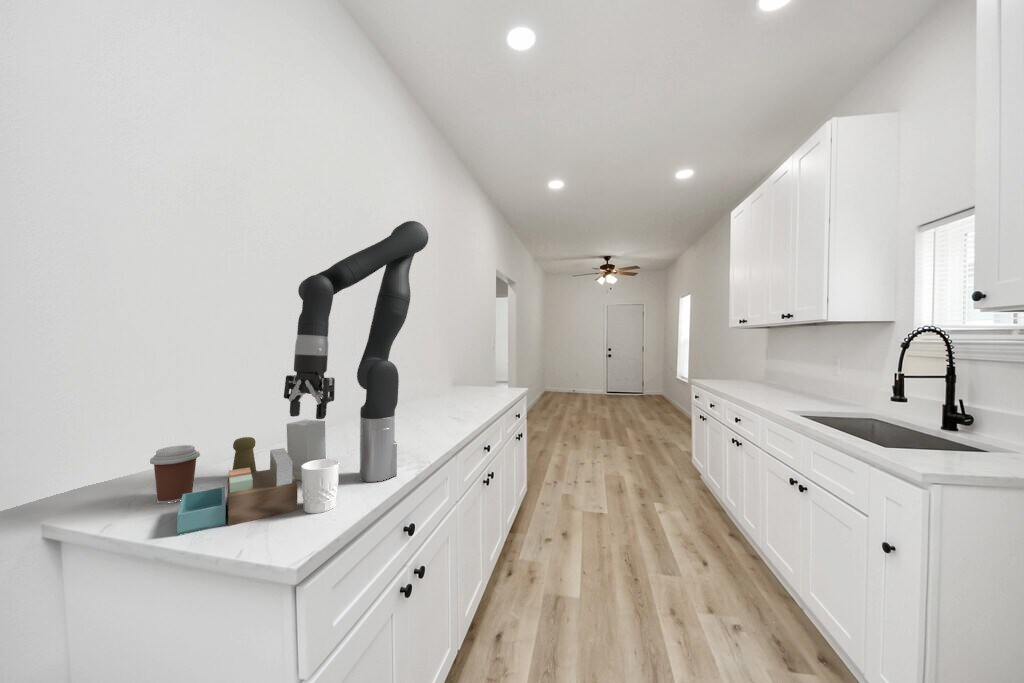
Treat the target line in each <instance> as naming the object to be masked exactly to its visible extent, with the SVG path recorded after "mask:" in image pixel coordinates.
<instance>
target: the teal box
mask: <svg viewBox="0 0 1024 683" xmlns="http://www.w3.org/2000/svg"><path fill="white" fill-rule="evenodd" d="M226 504H227V503H226V486H221V487H215V488H210V489H204V490H198V491H193V492H192V493H186V494H183V495H182V499H181V501H180V504H179V508H178V512H177V517H176V518H177V523H176V524H177V528H176V532H177V534H176V535H178V536H181V535H180V534H182V535H185V534H184V533H187V534H191V533H195V531H196V532H199V530H200V531H205V530H208V529H212V528H217V527H218V528H219V527H221V526H222V527H223V526H226V508H227V507H226Z"/></svg>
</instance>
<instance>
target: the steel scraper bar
mask: <svg viewBox="0 0 1024 683" xmlns="http://www.w3.org/2000/svg"><path fill="white" fill-rule="evenodd" d="M269 452H270V453H269V460H270V461H269V469H270V471H271V474H272V476H273V479H274V481H275V484H276V486H277V487H278V486H284V485H289V484H292V460H291V458H290V457H289V455H288V453H287V449H285V447H282V448H275V449H270V450H269Z"/></svg>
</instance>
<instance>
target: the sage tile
mask: <svg viewBox="0 0 1024 683" xmlns="http://www.w3.org/2000/svg"><path fill="white" fill-rule="evenodd" d="M252 488H253V479H252V474H250V475H244V476H238V477H232V478H229V489H230V493H231V492H236V491H242V490H247V489H252Z"/></svg>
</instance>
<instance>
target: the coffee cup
mask: <svg viewBox="0 0 1024 683" xmlns="http://www.w3.org/2000/svg"><path fill="white" fill-rule="evenodd" d="M195 448H196V447H195V446H194V445H191V444H183V445H182V444H181V445H173V446H168V447H163V448H160V449H158V450H157V451H156V452H155V455H154V456H153V457H151V458H150V459H149V463H150V464H151V465H153V468H154V478H155V480H154V481H155V488H156V501H157V502H159V503H158V504H160V503H168V502H175V501H179V502H181V501H180V500H181V499H182V495H183V494H186V493H192V492H194V491H193V490H194V481H195V475H196V474H195V473H196V465H197V459H198V458H199V457H201V453H200V451H198V450H196V449H195ZM175 503H176V502H175ZM168 504H169V503H168Z"/></svg>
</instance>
